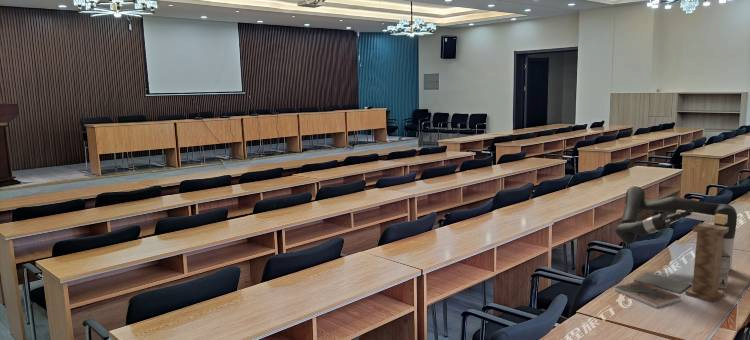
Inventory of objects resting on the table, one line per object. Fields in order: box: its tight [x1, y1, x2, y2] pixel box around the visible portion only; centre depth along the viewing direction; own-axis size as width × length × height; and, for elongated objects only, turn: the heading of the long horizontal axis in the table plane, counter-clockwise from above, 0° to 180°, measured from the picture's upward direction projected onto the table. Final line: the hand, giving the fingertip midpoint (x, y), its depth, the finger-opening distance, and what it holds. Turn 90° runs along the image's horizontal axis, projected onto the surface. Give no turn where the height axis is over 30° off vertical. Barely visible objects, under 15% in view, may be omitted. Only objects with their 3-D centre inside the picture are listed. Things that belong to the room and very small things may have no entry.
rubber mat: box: [633, 272, 693, 294], centre depth 261 cm, size 21×14×1 cm, turn 41°
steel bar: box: [676, 210, 728, 225], centre depth 243 cm, size 20×4×4 cm, turn 41°
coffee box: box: [718, 250, 730, 289], centre depth 256 cm, size 9×6×16 cm
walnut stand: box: [685, 222, 729, 303], centre depth 244 cm, size 12×12×32 cm
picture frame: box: [614, 281, 682, 309], centre depth 248 cm, size 16×2×22 cm
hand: (691, 211), depth 246 cm, fingers closed on steel bar, 2 cm apart
